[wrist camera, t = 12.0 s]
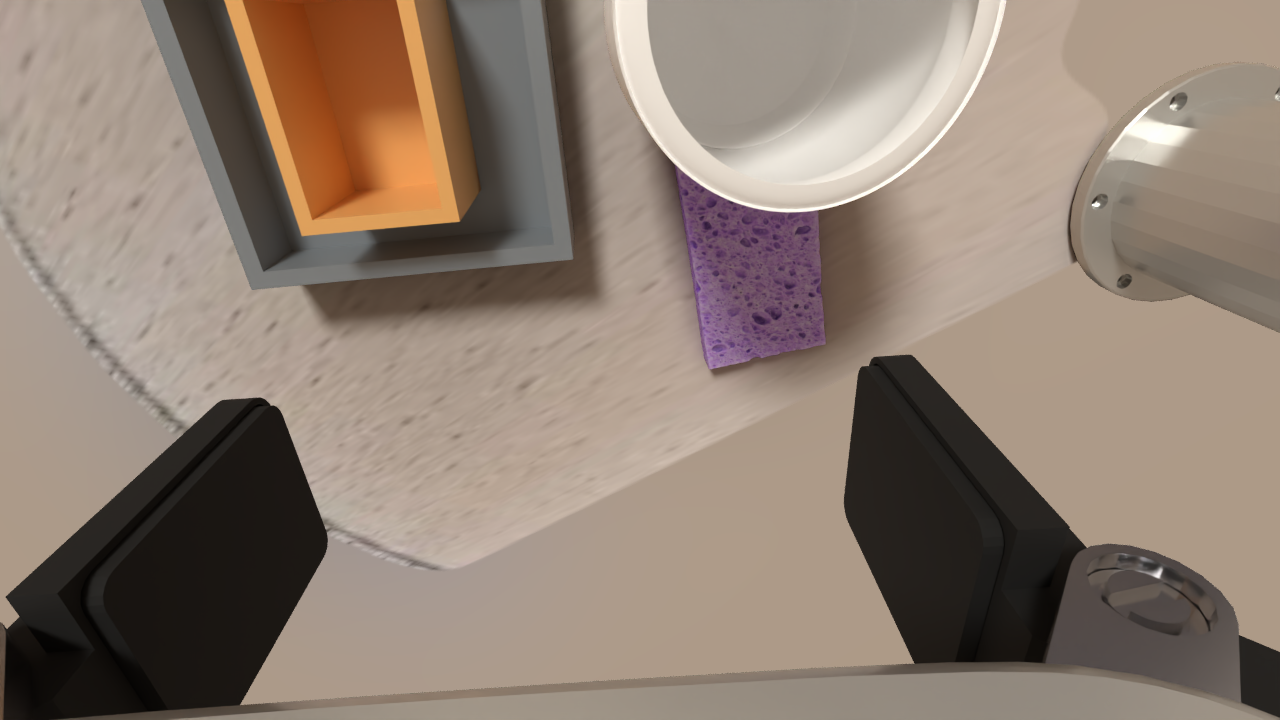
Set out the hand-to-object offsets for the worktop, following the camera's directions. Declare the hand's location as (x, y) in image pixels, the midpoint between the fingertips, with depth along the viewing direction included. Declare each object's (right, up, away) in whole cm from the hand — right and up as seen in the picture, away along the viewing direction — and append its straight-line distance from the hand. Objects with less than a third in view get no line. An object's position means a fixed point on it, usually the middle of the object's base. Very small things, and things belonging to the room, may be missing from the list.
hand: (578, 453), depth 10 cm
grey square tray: (-10, +14, +19) cm, 26 cm away
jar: (+4, +17, +19) cm, 26 cm away
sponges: (+7, +8, +25) cm, 27 cm away
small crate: (-10, +14, +19) cm, 25 cm away
